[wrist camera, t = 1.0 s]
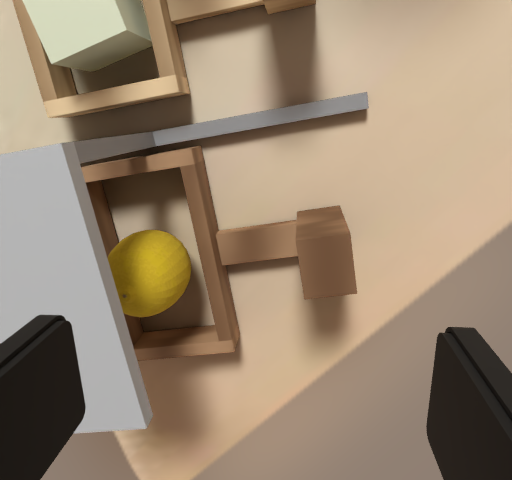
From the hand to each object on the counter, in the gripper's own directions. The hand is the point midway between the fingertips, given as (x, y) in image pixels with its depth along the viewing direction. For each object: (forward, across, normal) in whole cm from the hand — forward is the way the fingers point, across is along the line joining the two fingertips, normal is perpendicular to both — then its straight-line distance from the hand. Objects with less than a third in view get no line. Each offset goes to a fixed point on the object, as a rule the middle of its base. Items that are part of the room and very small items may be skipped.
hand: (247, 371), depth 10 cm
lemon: (+20, +9, +4) cm, 23 cm away
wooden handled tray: (+20, +5, +3) cm, 21 cm away
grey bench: (+20, +4, +2) cm, 21 cm away
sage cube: (+20, +12, -12) cm, 26 cm away
